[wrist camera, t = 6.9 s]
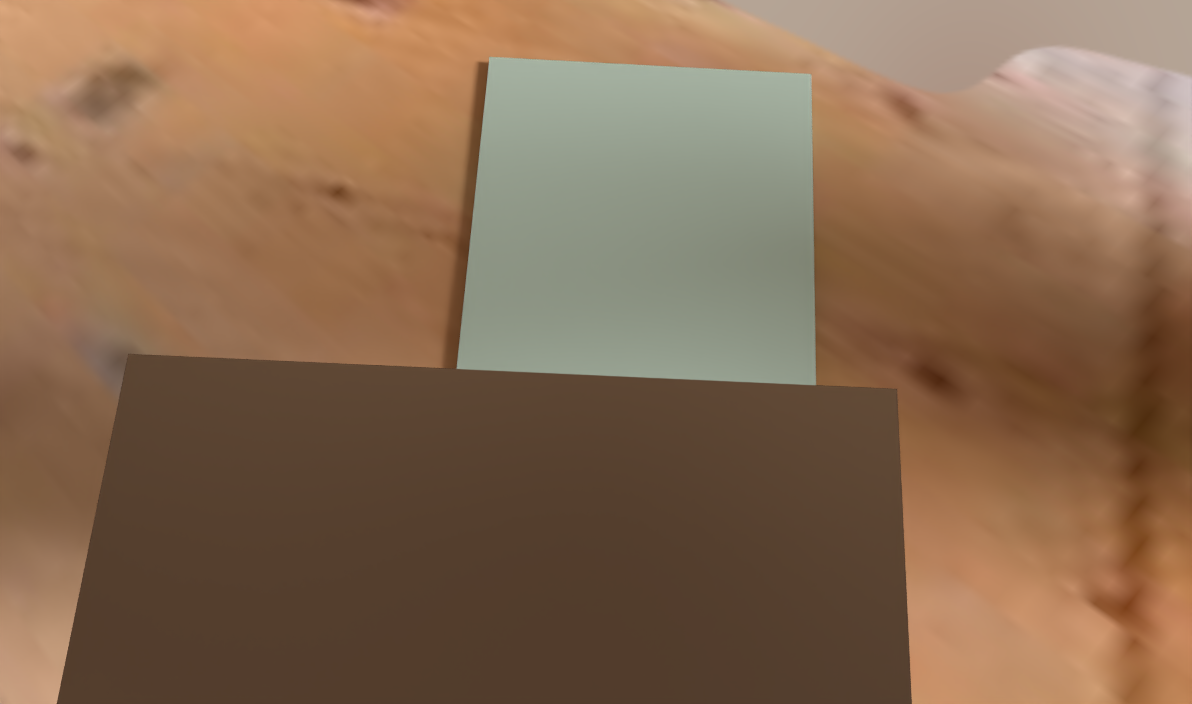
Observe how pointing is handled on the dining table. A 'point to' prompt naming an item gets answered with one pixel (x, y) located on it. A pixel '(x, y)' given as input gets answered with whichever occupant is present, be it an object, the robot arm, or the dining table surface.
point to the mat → (643, 224)
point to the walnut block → (490, 540)
